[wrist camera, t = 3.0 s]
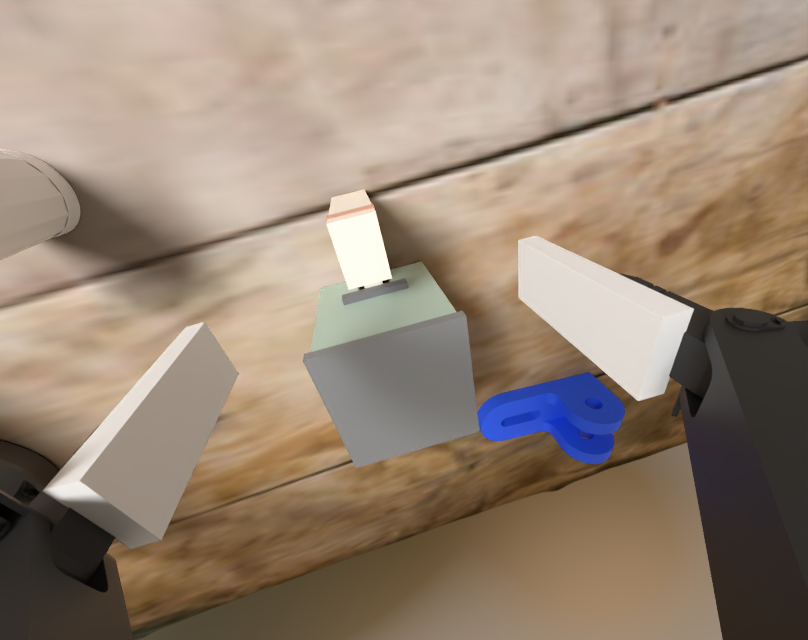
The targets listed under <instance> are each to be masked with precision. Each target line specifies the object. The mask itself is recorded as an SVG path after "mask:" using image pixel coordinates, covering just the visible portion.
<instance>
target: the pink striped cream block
mask: <svg viewBox="0 0 808 640" xmlns="http://www.w3.org/2000/svg"><path fill="white" fill-rule="evenodd" d="M326 220H327V227H328V230H329V233H330V236H331V239H332V242H333V245H334V248H335V251H336V254H337V257H338V260H339V263H340V266H341V269H342V272H343V275H344V277H345V280H346V283H347V286H348V289H349V290H350V289H354V288H358V287H361V286H364V288H365V289H366V288H370V287H373V286H377V285H381V284H383V282H382V281H384V280H388V279H391V278H392V275H391V271H390V267H389V263H388V259H387V255H386V251H385V247H384V243H383V239H382V235H381V231H380V227H379V223H378V219H377V215H376V211H375V207H374V205H373V204H372V203H371V202H370V200H369V198H368V196H367V194H366V192H365V190H364V189H363V190H359V191H355V192H351V193H347V194H344V195H340V196H336V197H332V200H331V204H330V209H329V214H328V215H327V218H326Z"/></svg>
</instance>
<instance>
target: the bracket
mask: <svg viewBox="0 0 808 640" xmlns="http://www.w3.org/2000/svg"><path fill="white" fill-rule="evenodd" d="M477 414H478V423H479V428H480V430H481V432H482V434H483V435H484V436H485V437H486V438H487V439H489V440H493V441H503V440H508V439H512V438H516V437H520V436H524V435H528V434H532V433H536V432H540V431H546V432H548V433H550V434H551V435H553V437H554V438H555V439H556V441H557V442H558V444H559V445H560V446H561V448H562V449H563V450H564V451H565V452H566V453H567V454H568V455H569V456H571V457H572V458H574V459H576V460H578V461H581V462H584V463H588V464H599V463H602V462H604V461H606V460H607V459H608V458H609V457H610V454H611V452H612V449H613V446H614V437H613V435H612V433H614V432H616V431H617V430H618V429H619V428H620V426H621V423H622V420H623V417H624V414H625V409H624V406H623V404H622V402H621V401H620V400H619V399H618V398H617V397H616V396H615V395H614V394H613V393H612V392H611V391H610V390H609V389H607V388H606V387H605V386H604V385H603V384H602V383H601V382H600V381H599V380H598V379H596V378H595V377H594V376H593V375H592V374H591V373H590V372H588V373H584V374H580V375H576V376H572V377H567V378H563V379H559V380H555V381H551V382H547V383H542V384H538V385H534V386H530V387H526V388H522V389H517V390H513V391H509V392H505V393H501V394H498V395H496V396H494V397H492V398H490V399H489V400H487V401H486V402H485V403H484V404H483V405H482V406H481V407H480V409H479V410H478V413H477ZM582 437H585V438H587V439H584V438H582Z"/></svg>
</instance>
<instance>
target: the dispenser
mask: <svg viewBox="0 0 808 640" xmlns="http://www.w3.org/2000/svg"><path fill="white" fill-rule="evenodd" d="M390 271H391V275H392V278H391V279H388V280H389V282H388V283H385V284H381V285H377V286H373V287H370V288H366V289H362V290H360V287H358V288H354V289H350V290H349V289H348V286H347V283H346V281H345V282H342V283H338V284H334V285H330V286H327V287H323V288H320V295H319V301H318V308H317V314H316V320H315V327H314V333H313V340H312V346H311V352H310V353H306V354H304V358H303V362H304V364H305V366H306V368H307V370H308V372H309V374H310V376H311V378H312V380H313V382H314V384H315V386H316V388H317V390H318V392H319V394H320V396H321V398H322V400H323V402H324V404H325V406H326V408H327V410H328V412H329V414H330V416H331V418H332V420H333V422H334V424H335V426H336V429H337V431H338V433H339V435H340V437H341V439H342V441H343V443H344V445H345V447H346V449H347V451H348V453H349V455H350V457H351V459H352V461H353V463H354V465H355V467H356V468H358V467H361V466H364V465H368V464H371V463H374V462H378V461H381V460H385V459H388V458H391V457H395V456H398V455H402V454H405V453H408V452H412V451H415V450H419V449H422V448H425V447H429V446H432V445H435V444H439V443H442V442H446V441H449V440H452V439H456V438H459V437H463V436H466V435H469V434H473V433H476V432H479V423H478V414H477V405H476V396H475V388H474V379H473V370H472V361H471V353H470V344H469V335H468V326H467V317H466V315H465V313H464V312H463V311H459V312H456V310H455V309H454V307H453V306H452V305H451V303H450V302H449V300H448V299H447V297H446V296H445V294H444V293H443V292H442V290H441V289H440V287H439V286H438V284H437V283H436V281H435V280H434V279H433V277H432V276H431V274H430V273H429V271H428V270H427V268H426V267H425V266H424V264H423V263H422V261H421V262H417V263H413V264H409V265H406V266H402V267H398V268H394V269H391V270H390Z"/></svg>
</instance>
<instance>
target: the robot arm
mask: <svg viewBox="0 0 808 640" xmlns="http://www.w3.org/2000/svg"><path fill="white" fill-rule="evenodd" d="M518 284H519V299H521V300H522V301H523V302H524V303H525V304H526V305H528V306H529V307H530V308H531V309H532V310H533V311H534V312H536V313H537V314H538V315H539V316H540V317H541V318H543V319H544V320H545V321H546V322H547V323H548V324H549V325H551V326H552V327H553V328H554V329H555V330H556V331H558V332H559V333H560V334H561V335H562V336H563V337H565V338H566V339H567V340H568V341H569V342H570V343H571V344H573V345H574V346H575V347H576V348H577V349H578V350H580V351H581V352H582V353H583V354H584V355H585V356H587V357H588V358H589V359H590V360H591V361H592V362H593V363H595V364H596V365H597V366H598V367H599V368H600V369H602V370H603V371H604V372H605V373H606V374H607V375H608V376H610V377H611V378H612V379H613V380H614V381H615V382H617V383H618V384H619V385H620V386H621V387H622V388H624V389H625V390H626V391H627V392H628V393H629V394H630V395H632V396H633V397H634V398H635V399H636V400H637V401H641V400H644V399H647V398H651V397H654V396H658V395H661V394H664V392H665V389H666V387H667V384H668V381H669V378H670V377H671V378H673V379H674V380H675V381H677V382H678V383H680V384H681V385H682V387H681V390H680V392H679V395H678V397H677V400H676V402H675V405H674V408H673V411H672V416H677V415H678V412H679V410H682V415H683V421H684V426H685V432H686V438H687V443H688V448H689V454H690V460H691V465H692V471H693V477H694V482H695V487H696V493H697V499H698V504H699V510H700V515H701V521H702V526H703V532H704V538H705V543H706V548H707V554H708V560H709V565H710V571H711V577H712V582H713V587H714V593H715V598H716V604H717V610H718V615H719V621H720V627H721V632H722V638H723V640H808V321H792V322H787V321H785V320H784V319H781V318H779V317H777V316H775V315H773V314H769V313H766V312H762V311H758V310H753V309H745V308H724V309H719V310H716V311H712V310H710V309H708V308H706V307H703V306H701V305H699V304H697V303H694V302H692V301H690V300H688V299H685V298H683V297H681V296H679V295H676V294H674V293H672V292H670V291H669V292H666V290H665V289H663V288H661V287H658V286H654V285H653V284H652V283H649V282H647V281H645V280H643V279H640V278H638V277H633V276H629V275H624V274H618V273H616V272H613V271H611V270H609V269H607V268H605V267H603V266H600V265H598V264H596V263H594V262H592V261H590V260H587V259H585V258H583V257H581V256H579V255H577V254H574V253H572V252H570V251H568V250H566V249H564V248H562V247H559V246H557V245H555V244H553V243H551V242H549V241H546V240H544V239H542V238H540V237H538V236H532V237H528V238H525V239H521V240H518ZM238 374H239V373H238V372H237V370H236V369H235V367H234V366H233V364H232V363H231V361H230V360H229V358H228V356H227V355H226V353H225V352H224V350H223V349H222V347H221V346H220V344H219V343H218V341H217V340H216V338H215V337H214V335H213V334H212V332H211V331H210V329H209V328H208V326H207V325H206V323H205V322H204V323H200V324H196V325H192V326H188V327H185V329H184V330H183V331H182V332H181V333H180V334H179V335H178V337H177V338H176V339H175V340H174V341H173V342H172V343H171V345H170V346H169V347H168V348H167V349H166V350H165V351H164V353H163V354H162V355H161V356H160V357H159V358H158V359H157V361H156V362H155V363H154V364H153V365H152V366H151V367H150V369H149V370H148V371H147V372H146V373H145V374H144V375H143V377H142V378H141V379H140V380H139V381H138V382H137V383H136V385H135V386H134V387H133V388H132V389H131V390H130V391H129V393H128V394H127V395H126V396H125V397H124V398H123V399H122V401H121V402H120V403H119V404H118V405H117V406H116V407H115V409H114V410H113V411H112V412H111V413H110V414H109V415H108V417H107V418H106V419H105V420H104V421H103V422H102V423H101V424H100V425H99V426H98V427H97V428H96V429H95V430H94V432H93V433H92V434H91V435H90V436H89V437H88V438H87V440H86V441H85V443H84V444H82V445H81V446H80V448H79V449H78V450H77V451H76V452H75V453H74V455H73V457H71V458H70V459H69V460H68V461H67V462H66V464H65V465H64V466H63V467H62V468H61V469H60V470H58V469H57V468H56V467H55V466H54V465H53V464H51V463H50V462H49V461H47V460H46V459H44V458H43V457H41V456H39V455H38V454H36V453H34V452H32V451H29V450H27V449H25V448H22V447H19V446H17V445H14V444H10V443H7V442H3V441H0V640H133V636H132V632H131V627H130V623H129V618H128V614H127V609H126V605H125V600H124V596H123V591H122V587H121V582H120V578H119V573H118V569H117V564H116V561H115V560H114V558H113V557H112V556H111V555H109V554H107V553H106V552H107V551H108V549H109V547H110V546H111V544H112V542H113V540H114V539H117V540H118V541H120V542H121V543H123V544H124V545H126V546H127V547H129V548H130V549H133V548H137V547H140V546H144V545H147V544H150V543H154V542H157V541H161V540H162V538H163V536H164V534H165V531H166V529H167V527H168V525H169V523H170V521H171V518H172V516H173V514H174V512H175V510H176V508H177V505H178V503H179V501H180V499H181V497H182V495H183V493H184V490H185V488H186V486H187V484H188V482H189V480H190V477H191V475H192V473H193V471H194V469H195V467H196V464H197V462H198V460H199V458H200V456H201V454H202V452H203V449H204V447H205V445H206V443H207V441H208V439H209V436H210V434H211V432H212V430H213V428H214V426H215V423H216V421H217V419H218V417H219V415H220V413H221V410H222V408H223V406H224V404H225V402H226V400H227V398H228V395H229V393H230V391H231V389H232V387H233V385H234V382H235V380H236V378H237V376H238Z"/></svg>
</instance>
